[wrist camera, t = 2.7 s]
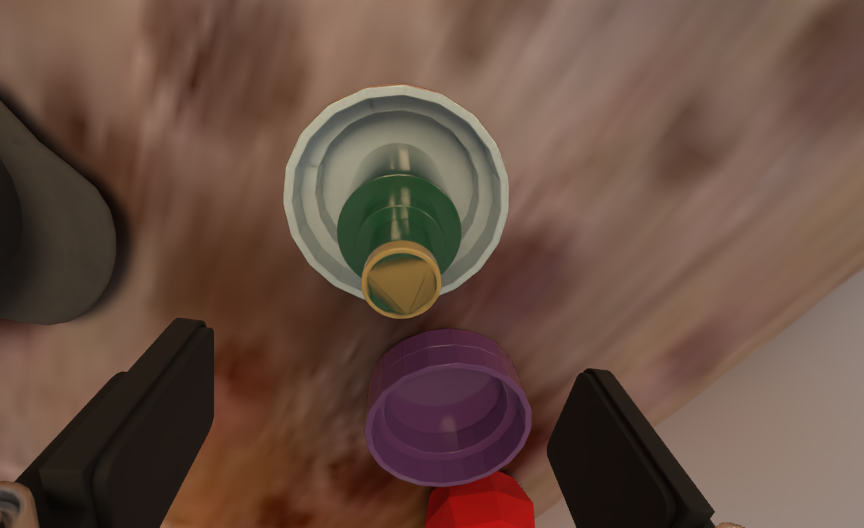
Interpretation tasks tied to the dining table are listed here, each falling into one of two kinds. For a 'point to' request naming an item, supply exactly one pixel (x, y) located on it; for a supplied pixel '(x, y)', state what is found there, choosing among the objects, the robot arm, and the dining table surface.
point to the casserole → (48, 232)
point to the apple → (481, 505)
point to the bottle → (399, 230)
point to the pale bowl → (384, 124)
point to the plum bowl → (445, 409)
